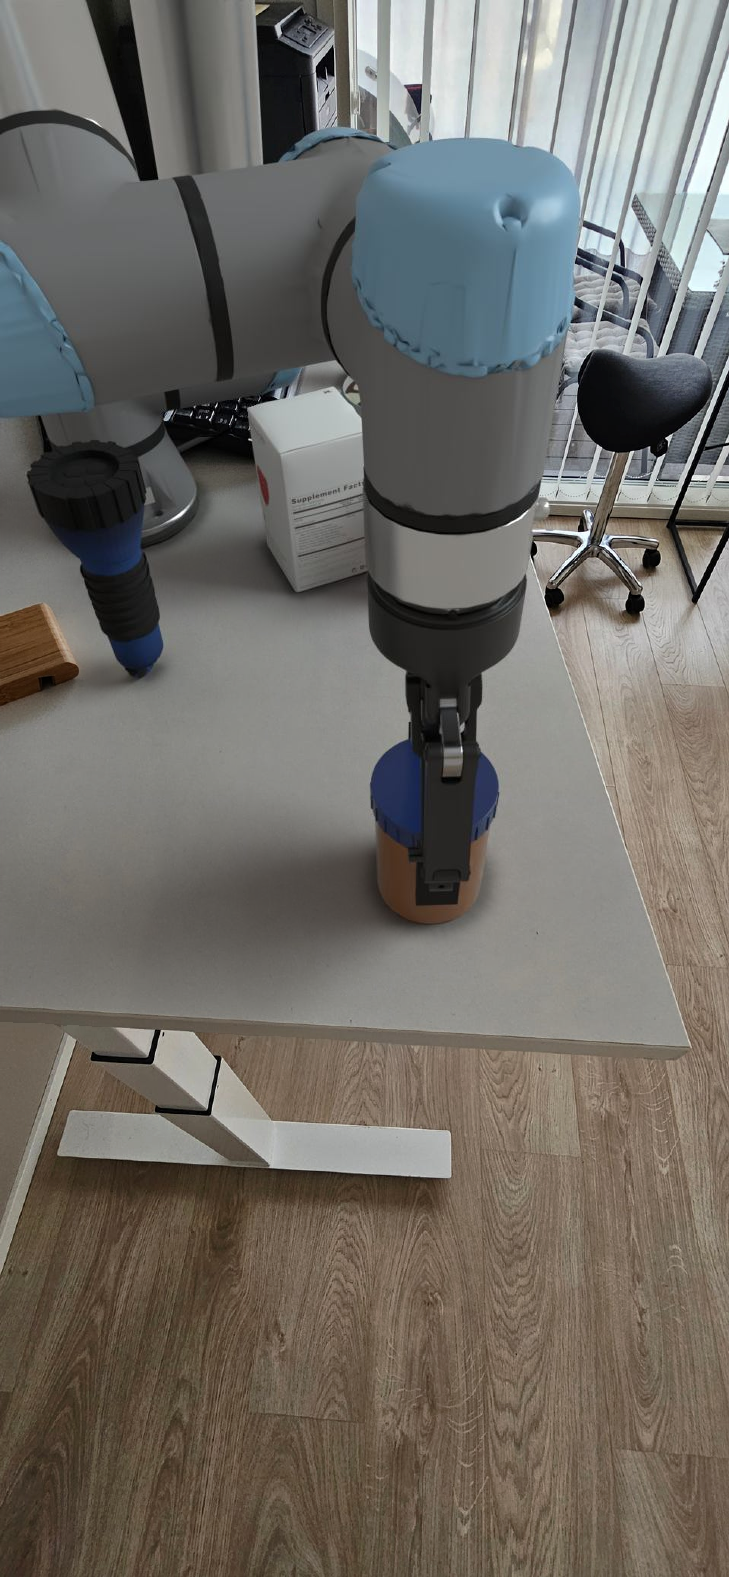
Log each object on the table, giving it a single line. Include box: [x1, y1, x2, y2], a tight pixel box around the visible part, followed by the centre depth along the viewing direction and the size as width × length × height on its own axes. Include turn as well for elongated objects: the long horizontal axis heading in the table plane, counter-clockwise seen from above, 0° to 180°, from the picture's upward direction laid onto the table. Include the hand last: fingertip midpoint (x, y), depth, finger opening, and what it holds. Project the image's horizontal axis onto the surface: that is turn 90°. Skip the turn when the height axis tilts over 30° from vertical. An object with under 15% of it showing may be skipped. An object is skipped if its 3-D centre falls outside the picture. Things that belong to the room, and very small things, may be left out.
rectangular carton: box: [246, 386, 368, 593], centre depth 78 cm, size 9×9×15 cm
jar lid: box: [369, 738, 500, 847], centre depth 51 cm, size 8×8×2 cm
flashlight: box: [26, 440, 164, 679], centre depth 66 cm, size 8×8×20 cm
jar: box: [374, 820, 491, 925], centre depth 55 cm, size 8×8×11 cm
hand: (431, 840), depth 56 cm, fingers open, 9 cm apart
